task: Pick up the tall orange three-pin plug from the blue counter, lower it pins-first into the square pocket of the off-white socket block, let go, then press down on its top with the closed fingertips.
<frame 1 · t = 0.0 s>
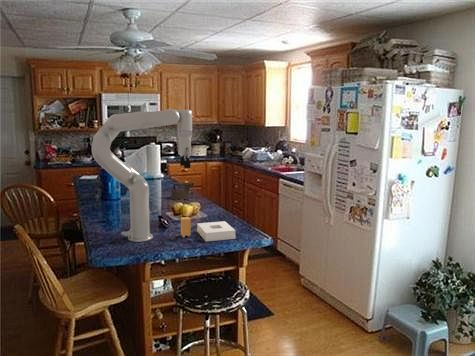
hand: (185, 166, 209), 37 cm above the kitchen island, tool pointing down, fingers open, 9 cm apart
socket block: (215, 234, 215), on the kitchen island
clothes iron: (181, 199, 298), on the kitchen island
plug: (185, 236, 212), on the kitchen island
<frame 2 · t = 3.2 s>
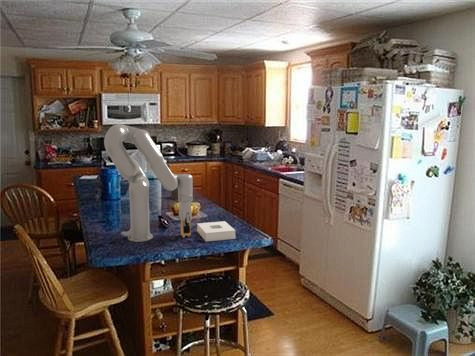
hand: (185, 231, 211), 3 cm above the kitchen island, tool pointing down, fingers closed on plug, 4 cm apart
plug: (185, 236, 212), on the kitchen island, touching gripper
everything else where it was.
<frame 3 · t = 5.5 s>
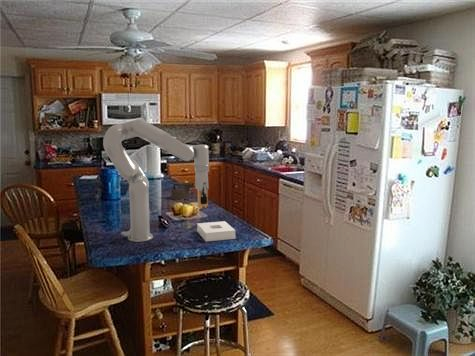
hand: (202, 202, 210), 18 cm above the kitchen island, tool pointing down, fingers closed on plug, 4 cm apart
plug: (203, 207, 211), point 15 cm above the kitchen island, touching gripper
everything else where it was.
when the fingers open (5 cm above the kitchen island, at t = 8.2 s): plug stays where it is, resting on socket block.
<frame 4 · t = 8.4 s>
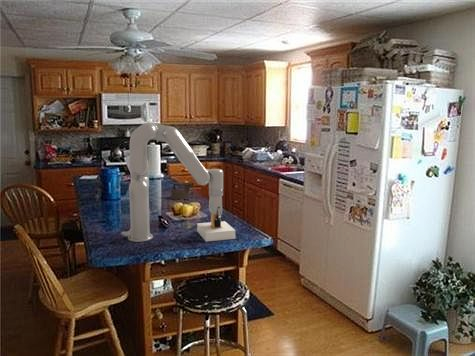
hand: (215, 225, 214), 6 cm above the kitchen island, tool pointing down, fingers open, 5 cm apart
plug: (215, 231, 215), point 2 cm above the kitchen island, touching socket block
everything else where it was.
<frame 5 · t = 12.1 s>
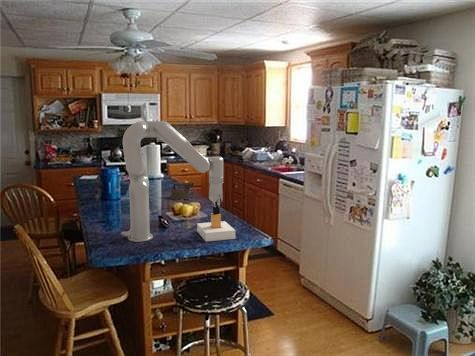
hand: (216, 213, 213), 12 cm above the kitchen island, tool pointing down, fingers closed
plug: (215, 232, 215), point 2 cm above the kitchen island, touching gripper, socket block
everything else where it was.
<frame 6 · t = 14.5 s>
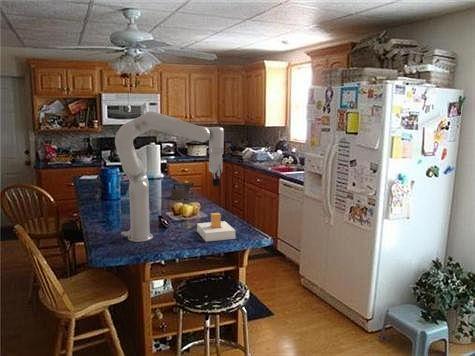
hand: (215, 185, 210), 27 cm above the kitchen island, tool pointing down, fingers closed
plug: (215, 232, 215), point 2 cm above the kitchen island, touching socket block
everything else where it was.
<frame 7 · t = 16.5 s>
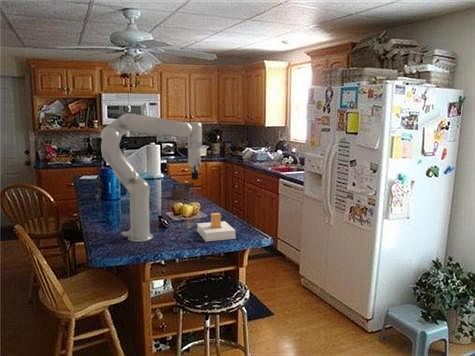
hand: (194, 179, 216), 29 cm above the kitchen island, tool pointing down, fingers closed
nothing on the kitchen island moved.
at the end: plug 0.1 cm off-centre on the socket block, point 1.6 cm above the socket block's base; plug tilted 0°; the gripper is holding nothing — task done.
